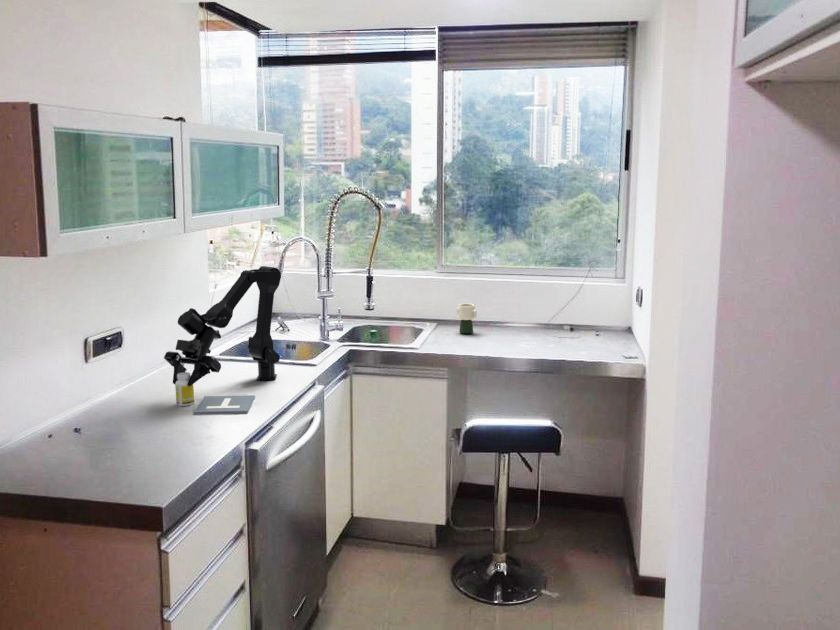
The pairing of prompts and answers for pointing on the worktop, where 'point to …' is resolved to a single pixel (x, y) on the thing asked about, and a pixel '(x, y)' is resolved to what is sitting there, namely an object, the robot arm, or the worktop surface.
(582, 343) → the worktop surface
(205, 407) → the letter board
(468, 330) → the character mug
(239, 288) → the robot arm
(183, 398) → the supplement bottle
